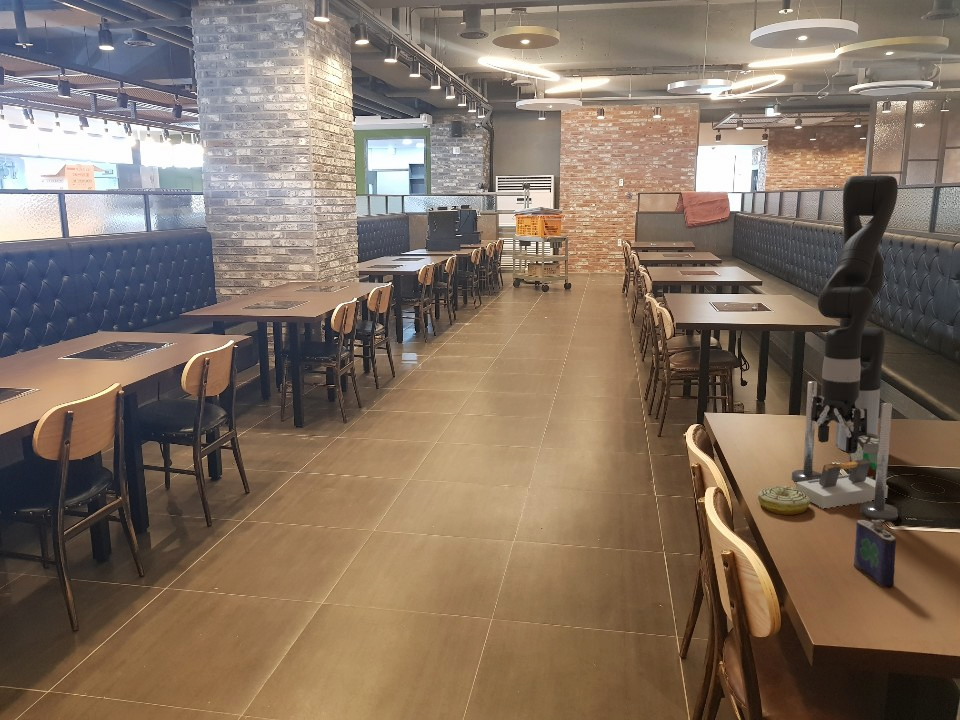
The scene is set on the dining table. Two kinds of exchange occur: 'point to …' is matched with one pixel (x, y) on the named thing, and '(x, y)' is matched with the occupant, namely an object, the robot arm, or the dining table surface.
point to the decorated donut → (783, 500)
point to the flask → (875, 552)
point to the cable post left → (808, 440)
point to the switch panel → (839, 492)
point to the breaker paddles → (833, 470)
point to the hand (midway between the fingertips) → (836, 447)
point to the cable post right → (881, 473)
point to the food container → (867, 452)
